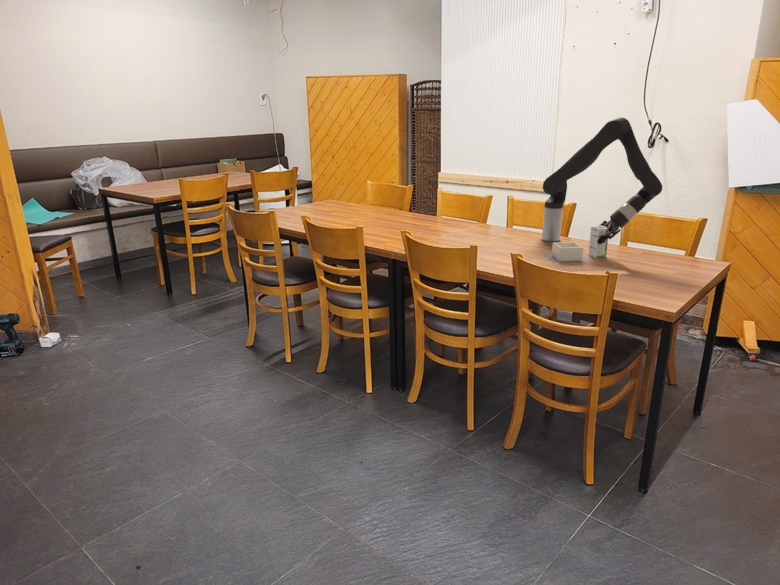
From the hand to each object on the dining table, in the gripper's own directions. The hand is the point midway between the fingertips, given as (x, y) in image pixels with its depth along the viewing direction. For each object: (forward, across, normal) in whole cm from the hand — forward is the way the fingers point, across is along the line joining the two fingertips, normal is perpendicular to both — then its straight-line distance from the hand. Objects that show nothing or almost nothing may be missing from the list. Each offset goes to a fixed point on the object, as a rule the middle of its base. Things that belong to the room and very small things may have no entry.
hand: (595, 241), depth 252 cm
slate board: (+15, +2, -4) cm, 16 cm away
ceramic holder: (+14, +2, -5) cm, 15 cm away
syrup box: (+5, 0, +7) cm, 8 cm away
